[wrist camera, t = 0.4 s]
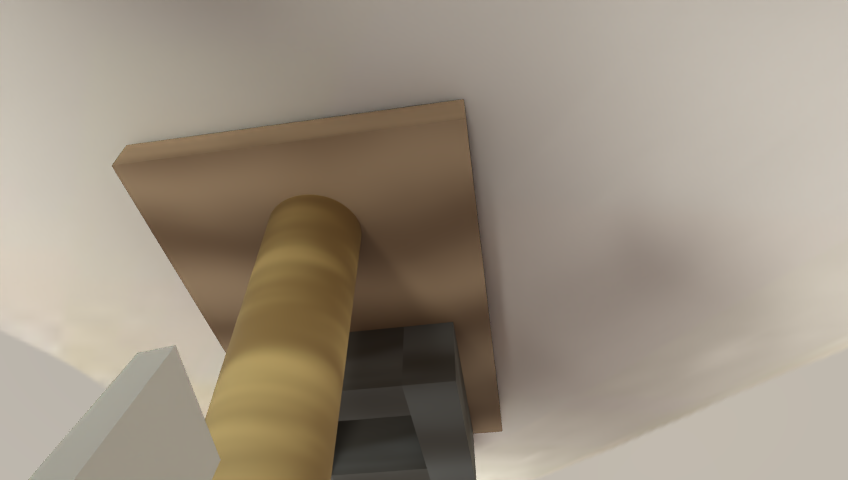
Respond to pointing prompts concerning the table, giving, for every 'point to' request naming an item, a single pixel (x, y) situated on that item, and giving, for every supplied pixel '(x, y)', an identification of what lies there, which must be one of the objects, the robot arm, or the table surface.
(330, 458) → the peg
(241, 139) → the board
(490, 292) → the table surface
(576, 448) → the table surface
